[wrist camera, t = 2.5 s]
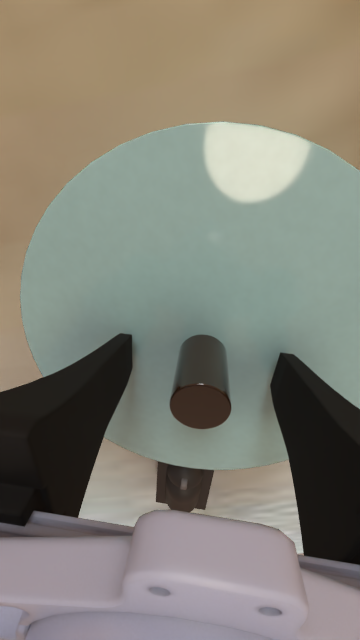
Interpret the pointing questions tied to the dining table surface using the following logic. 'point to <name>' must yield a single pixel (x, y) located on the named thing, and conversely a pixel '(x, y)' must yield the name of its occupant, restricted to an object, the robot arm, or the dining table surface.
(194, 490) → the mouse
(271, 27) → the dining table surface
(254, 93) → the dining table surface
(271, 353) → the lid
